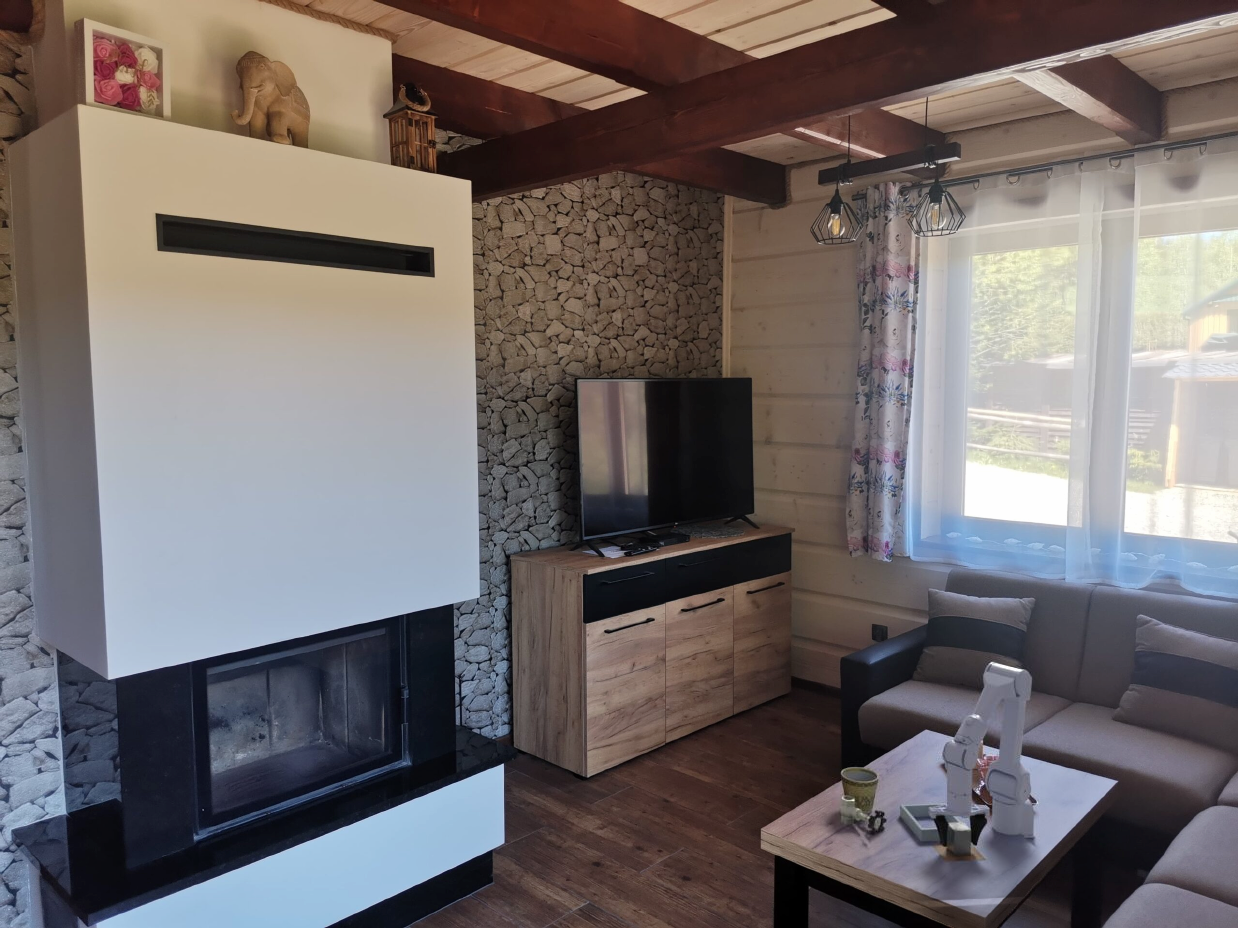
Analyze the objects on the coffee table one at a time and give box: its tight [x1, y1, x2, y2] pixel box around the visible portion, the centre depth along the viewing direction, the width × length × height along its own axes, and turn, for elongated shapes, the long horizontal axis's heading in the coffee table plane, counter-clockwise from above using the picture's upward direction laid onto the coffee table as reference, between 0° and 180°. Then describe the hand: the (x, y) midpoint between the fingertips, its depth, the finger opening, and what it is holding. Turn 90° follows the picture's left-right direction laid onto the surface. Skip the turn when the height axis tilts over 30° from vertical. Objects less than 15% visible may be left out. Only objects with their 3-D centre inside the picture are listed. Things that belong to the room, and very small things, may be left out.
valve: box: [839, 795, 887, 836], centre depth 230 cm, size 7×7×12 cm
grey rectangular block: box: [947, 821, 972, 857], centre depth 215 cm, size 4×4×6 cm
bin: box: [899, 802, 962, 842], centre depth 228 cm, size 12×14×4 cm
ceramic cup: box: [840, 766, 879, 815], centre depth 241 cm, size 13×10×10 cm
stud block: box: [932, 843, 987, 862], centre depth 215 cm, size 10×8×4 cm
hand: (958, 844), depth 215 cm, fingers open, 7 cm apart
